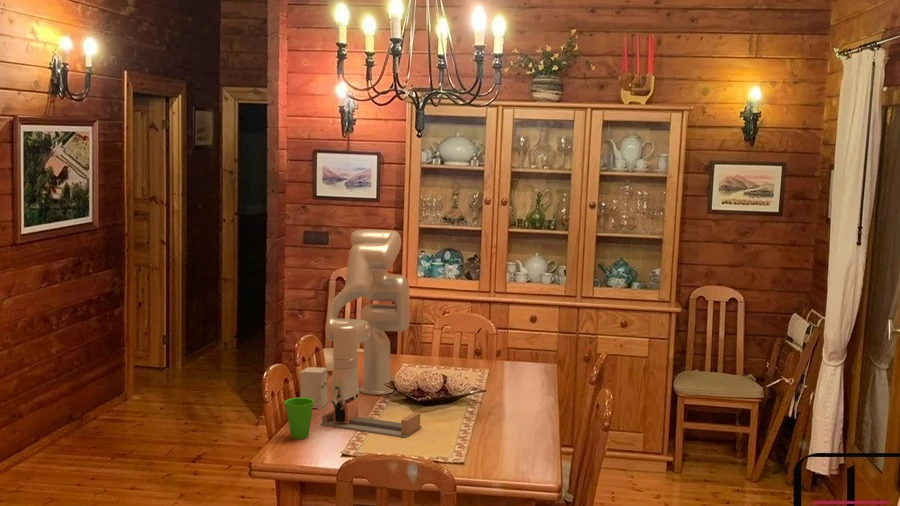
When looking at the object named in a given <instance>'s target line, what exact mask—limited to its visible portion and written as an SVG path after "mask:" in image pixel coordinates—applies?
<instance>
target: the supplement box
mask: <svg viewBox="0 0 900 506" xmlns="http://www.w3.org/2000/svg"><path fill="white" fill-rule="evenodd" d="M299 374H300V375H299V377H300V378H299V381H300V383H299V384H300V385H299V387H300V392H299V393H300V396H299V397H305V398H311V399H313V400H314V401H315V402H314V403H313V408H317V409H316V410H321V409H322V408H324V406H326V405H327V404H328V367H317V366H316V367H314V366H313V367H312V366H308V367H306V368H304V369H303V370H301V371H300V373H299Z"/></svg>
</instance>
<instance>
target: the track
mask: <svg viewBox="0 0 900 506" xmlns="http://www.w3.org/2000/svg"><path fill="white" fill-rule="evenodd" d="M321 419H322V420H321V423H320V426H322V425H325V426H324V427H329V426H331V427H330V428H336V427H337V429H344V430H350V431H356V430H359V431H358V432H363V431H365V432H366V433H371V434H378V435H384V436H390V437H397V438H403V437H404V439H406V438H408V437H409V436H411V435H413V434H414V433H416V432H418V431H419V430H421V429H422V425H421V412H416V411H414V412H412V413H410V414H409V415H407V416H405V417H404V418H402V419H401V421H400V422H398V421H397V422H396V421H391V420H390V421H389V420H383V419H375V418H369V417H361V416H358V417H354V418H352V419H350V420H349V423H348V424H346V423H339V422H334V409H331V410H329V411H328V412H325V413H323V414H322V417H321ZM365 432H364V433H365Z"/></svg>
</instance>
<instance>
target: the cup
mask: <svg viewBox="0 0 900 506" xmlns="http://www.w3.org/2000/svg"><path fill="white" fill-rule="evenodd" d="M314 402H315V401H314V400H313V399H311V398H305V397H300V396H299V397H298V396H297V397H291V398H288V399H286V400H284V401H283V404H284V405H285V410H286V415H287V421H288V427H289V433H290V437H291V438H292V437H293V438H295V439H294V440H303V439H302V438H305V439H307V438H308V437H309V435H310V430H311V429H310V428H311V422H312V421H311V420H312V414H313V409H312V408H313V403H314ZM306 437H307V438H306ZM293 438H292V439H293Z"/></svg>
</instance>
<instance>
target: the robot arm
mask: <svg viewBox="0 0 900 506" xmlns="http://www.w3.org/2000/svg"><path fill="white" fill-rule="evenodd" d="M350 243H351V245H352V246H351V248H350V250H349V254H348V262H347V266H346V267H347V268H346V276H345V282H344V283H345V284H344V287H343V289H341V291H339V292H338V294H337V295H335V297H334V298H333V300H332V301H331V303H330V304H329V307H328V310H327V313H326V322H325V327H324V328H325V330H324V331H325V337H326V338H327V340H329V341H331V342H333V343H332V345H333V346H332V347H333V348H332V350H333V351H332V352H333V353H332V354H333V355H332V357H333V361H332V362H333V366H332V367H333V368H332V373H331V381H330V382H331V383H330V385H331V386H330V398H331V400H330V402H331V404H332V405H333V410H334V409H335V420H336V421H339V422H345V409H344V404H345V400H347V399H351V400H357V399H358V396H359V393H361V394H365V395H372V396H379V395H380V396H383V395H387V394H391V393H393V389H389V388H388V387H387V386H385V385H384V384H385V383H389V382H390V381H391V382H392V381H394V380H395V375H394V374H391V341H390V339H389V337H388V335H387V334H386V331H387V332H405V331H407V330H408V329H409V327H410V323H411V307H410V303H411V301H410V285H409V281H408V279H407V278H406V276H404V275H403V274H389V272H388V269H390V268H392V266H393V265H394V263H395V261H396V258H397V256H398V255H399V253H400V250H401V247H402V237H401V235H400V232H398V231H397V230H391V229H357V230H355V231H353V232H352V233H351V235H350ZM364 296H365V298H366V299H367V300H369V301H375V302H393V303H394V304H392V303H369V304H366V305H364V306H363V307H362V309H361V311H360V319H358V318H357V319H356V318H355V319H354V318H353V319H352V318H339V317H338V316H339V313H340V311H341V310H342V308H343V307H345V306H346V305H347V304H349V303H350V302H353V301H354V300H356V299H359V298H362V297H364ZM362 343H363V385H359V372H358V344H362ZM391 382H390V383H391ZM359 386H360V387H359ZM339 401H340V402H341V404H340V403H339Z"/></svg>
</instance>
